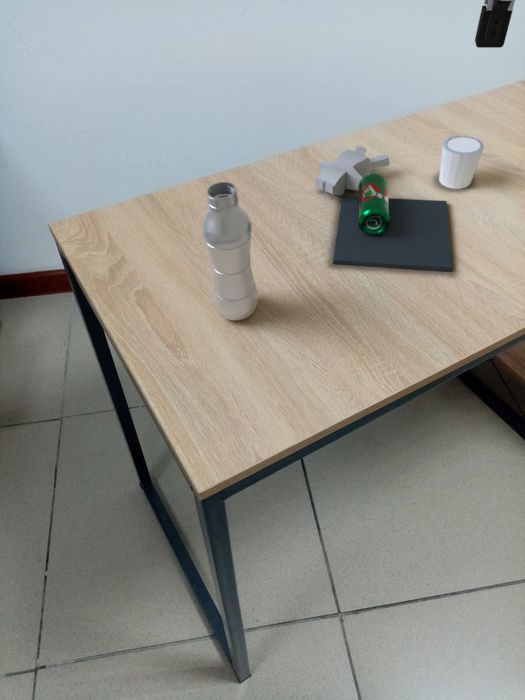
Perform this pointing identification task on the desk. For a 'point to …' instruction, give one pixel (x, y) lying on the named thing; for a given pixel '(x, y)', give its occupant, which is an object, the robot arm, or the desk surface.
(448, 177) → the shot glass
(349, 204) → the mat
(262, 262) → the desk surface
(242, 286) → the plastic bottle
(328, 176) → the grey irregular branched block
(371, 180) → the soda can
